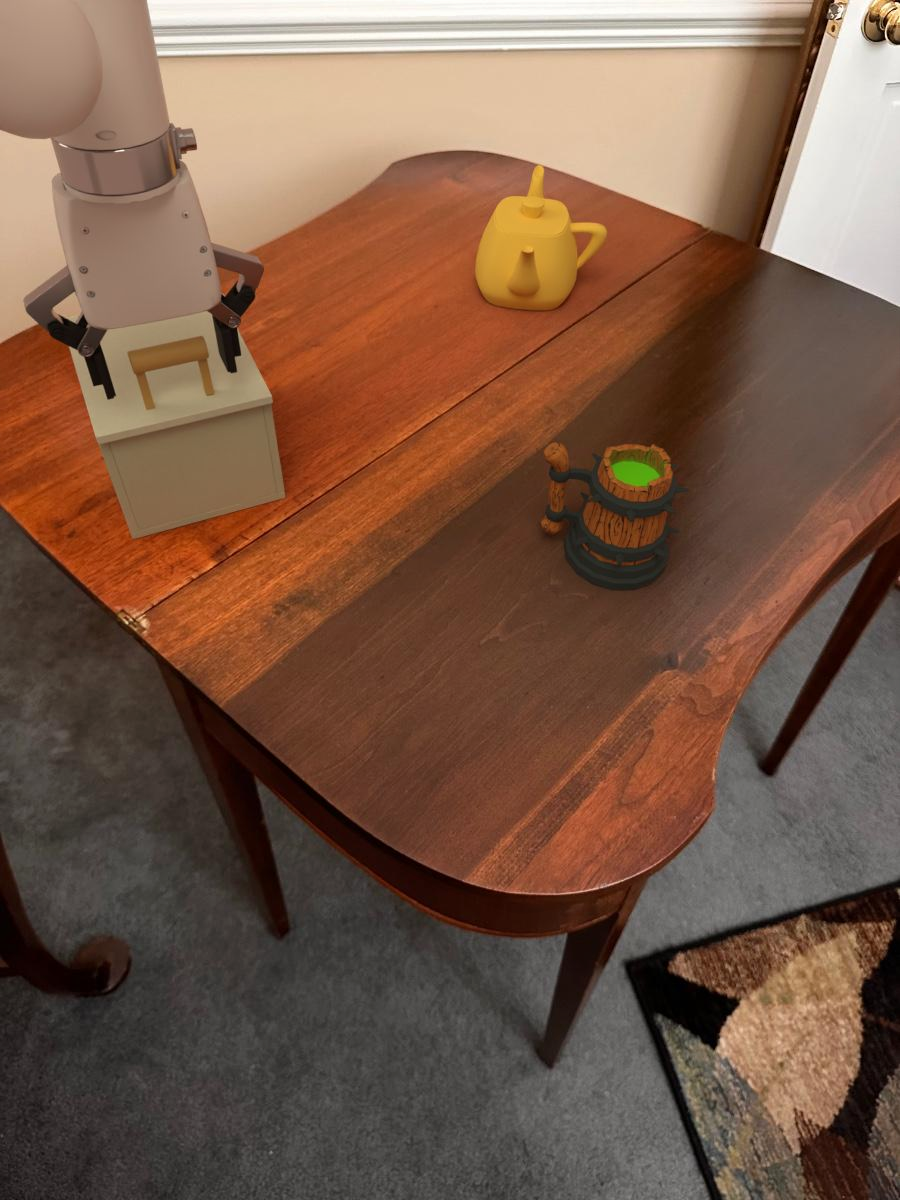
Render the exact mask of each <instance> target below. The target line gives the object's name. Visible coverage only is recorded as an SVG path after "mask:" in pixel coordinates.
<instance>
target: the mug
mask: <svg viewBox="0 0 900 1200" xmlns="http://www.w3.org/2000/svg"><path fill="white" fill-rule="evenodd" d="M542 454H543V458H544V461H546V463H548V464H549V465H550V467H549V472H548V475H549V477H550V482H549V484H548V485H549V486H548V494H547V495H548V501H549V503H548V504H547V505H546V507H545V511H544V513H545V515H544V516H543V517H542V519H541V520H540V525H541V526H540V527H541V529H542V530H543V531H544V532H545V533H546V534H549V535H556V534H558V533H559V532H560V531H561V530H562V529H563V520H564V519H565V520H566V521H568V522H570V524H569V527H568V530H567V532H566V534H565V536H564V541H563V549H564V555H565V560H566V561H567V563H568V564H569V565H570V567H571V568H572V570H573V571H574V573H575V574H576V575H578V576H579V577H581V578H582V579H584V580H586V581H587V582H588V583H590V584H591V585H593V586H597V587H601V588H604V589H607V590H611V591H635V590H638V589H641V588H644V587H646V586H650V585H652V584H653V583H655V581H656V580H657V579H658V578H659V577H661V576H662V574H663V573H664V571H665V569H666V565H667V562H668V559H669V554H670V550H669V549H670V548H669V546H668V540H667V538H668V535H671V534H680V529H677V528H672V527H670V525H669V522H668V518H667V514H668V513H670V514H673V515H676V514H677V511H676V510H675V509H674V508H673V507H672V505H673V503H674V500H675V498H676V497H675V496H676V494H679V493H687V492H689V491H690V488H687V487H683V486H678V483H677V482H676V478H675V475H674V471H673V470H674V469H675V468H676V467H678V465H677V463H673V464H672V463H671V457H670V456H669V454H668V453H667V452H666V450H665V448H663V447H661V446H659V445H656V444H654V443H652V445H651V446H650V447H649V446H646V445H642V444H638V443H636V444H635V443H631V444H630V443H624V444H620V445H617V446H614V445H612V446H607V447H606V449H605V450H604V453H603V456H599V455H598V454H596V453H595V452H592V454H591V456H592V457H593V459H594V461H595V463H594V466H593V467H592V470H589V469H587V468H578V467H573V468H571V466H570V457H569V454H568V451H567V448H566V447H565V445H564V444H563V443H561V442H558V441H554V442H552V443H549V444H547V446H545V448H544V449H543V451H542ZM569 480H577V481H582V482H584V483H586V484H588V488H589V494H586V493H585V492H583V491H580V493H579V495H580V496H581V497H582V499H583V502H582V503H581V506H580V508H579V510H578V511H576V510H575V511H574V510H571V509H568V508H567V507H566V505H565V499H566V486H567V482H568V481H569Z"/></svg>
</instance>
